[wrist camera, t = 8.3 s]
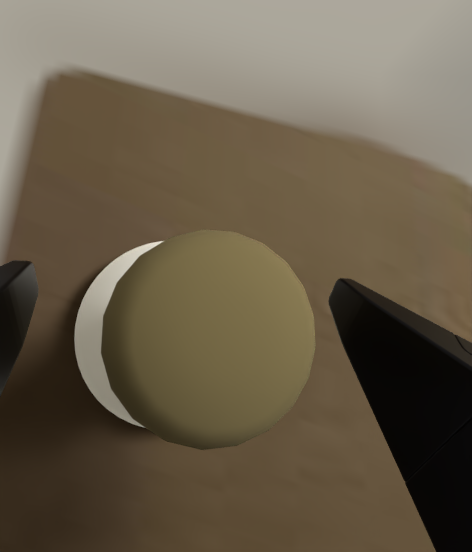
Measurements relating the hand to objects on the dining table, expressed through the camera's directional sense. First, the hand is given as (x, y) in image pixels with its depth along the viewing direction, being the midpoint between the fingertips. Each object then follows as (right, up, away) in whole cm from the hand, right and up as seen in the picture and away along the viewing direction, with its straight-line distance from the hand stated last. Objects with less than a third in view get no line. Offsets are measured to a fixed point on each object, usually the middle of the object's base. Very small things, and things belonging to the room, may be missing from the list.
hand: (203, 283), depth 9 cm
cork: (-2, -3, +7) cm, 8 cm away
